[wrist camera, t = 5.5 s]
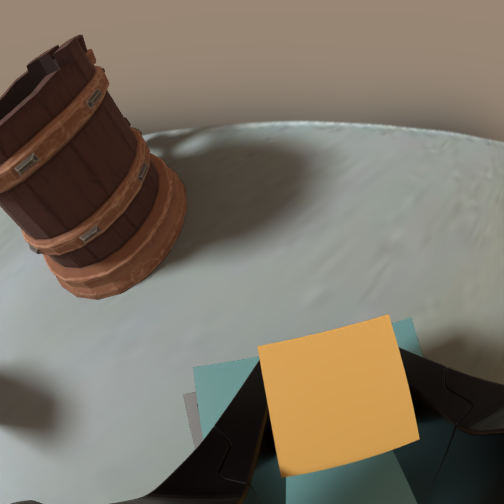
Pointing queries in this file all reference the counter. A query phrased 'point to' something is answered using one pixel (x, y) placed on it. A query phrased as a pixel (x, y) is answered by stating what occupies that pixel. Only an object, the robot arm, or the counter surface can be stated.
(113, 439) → the counter surface
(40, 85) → the mug
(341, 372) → the lid
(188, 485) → the robot arm
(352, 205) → the counter surface
